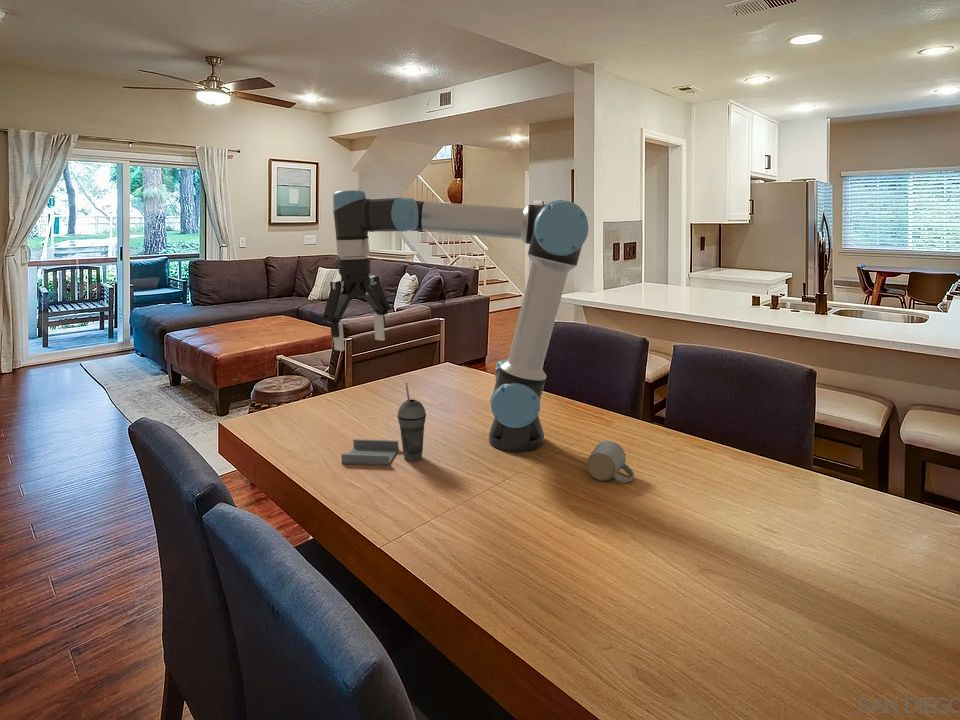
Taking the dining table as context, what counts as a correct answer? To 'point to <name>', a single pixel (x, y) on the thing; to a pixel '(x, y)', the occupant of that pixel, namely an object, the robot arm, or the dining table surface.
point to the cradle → (371, 452)
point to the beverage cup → (412, 428)
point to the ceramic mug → (608, 462)
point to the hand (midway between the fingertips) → (360, 344)
